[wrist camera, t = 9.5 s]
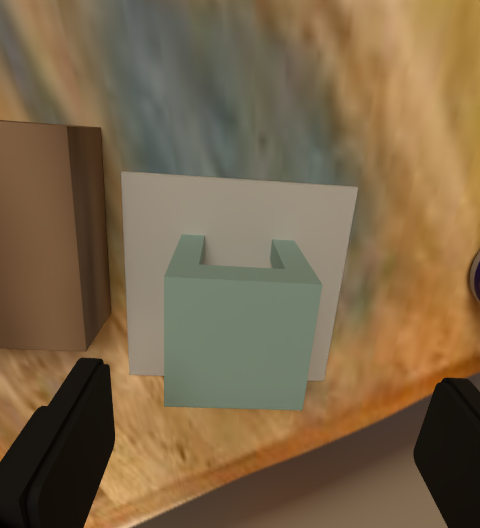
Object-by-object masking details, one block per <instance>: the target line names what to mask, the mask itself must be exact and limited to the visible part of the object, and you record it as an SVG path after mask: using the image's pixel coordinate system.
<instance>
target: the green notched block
mask: <svg viewBox="0 0 480 528" xmlns="http://www.w3.org/2000/svg"><path fill="white" fill-rule="evenodd" d="M204 239H205V235H189V234H182V235H181V237H180V240H179V242H178V244H177V247H176V249H175V252H174V254H173V256H172V259H171V261H170V263H169V266H168V268H167V271H166V273H165V275H164V407H196V408H233V409H270V410H303V404H304V397H305V391H306V385H307V379H308V372H309V366H310V360H311V353H312V347H313V341H314V335H315V328H316V322H317V316H318V310H319V303H320V297H321V291H322V283H321V281H320V280H319V278H318V277H317V275H316V274H315V272H314V271H313V269H312V267H311V266H310V264H309V263H308V261H307V260H306V258H305V257H304V255H303V253H302V252H301V250H300V249H299V247H298V246H297V244H296V243H295V241H294V240H277V239H272V244H271V254H270V262H271V265H272V268H256V267H236V266H217V265H203V259H204Z"/></svg>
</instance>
